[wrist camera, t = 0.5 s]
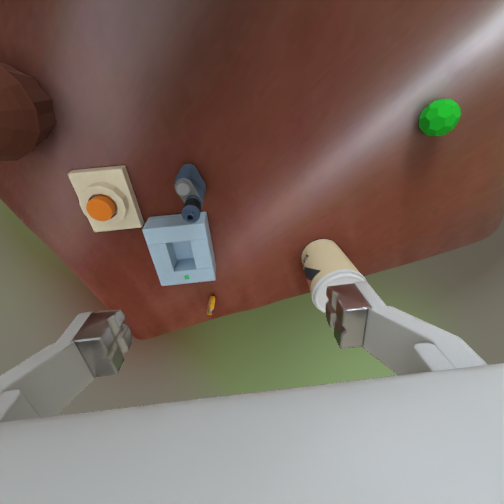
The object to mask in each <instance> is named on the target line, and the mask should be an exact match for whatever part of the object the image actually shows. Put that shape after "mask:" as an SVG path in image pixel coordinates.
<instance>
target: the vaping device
mask: <svg viewBox="0 0 504 504" xmlns="http://www.w3.org/2000/svg"><path fill="white" fill-rule="evenodd" d="M174 184H175V190H176V193H177V194H178V195H180V197H181V198H182V200H183V202H184V203H185V204H184V207H183V210H182V217H183V219H184V220H185V221H187V222H189V223H194V222H196V221H198V220H199V218H200V213H201V208H202V206H203V199H204V194H205V189H206V185H205V183H204V181H203V179H202V177H201V176H200V174H199V172H198V170H197V169H196V167H195V166H194V165H193V164H185V165H183V166H182V167H181V169H180V171H179V173H178V175H177V177H176V179H175V181H174Z"/></svg>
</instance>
